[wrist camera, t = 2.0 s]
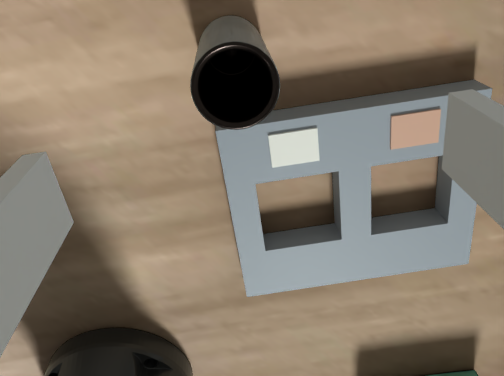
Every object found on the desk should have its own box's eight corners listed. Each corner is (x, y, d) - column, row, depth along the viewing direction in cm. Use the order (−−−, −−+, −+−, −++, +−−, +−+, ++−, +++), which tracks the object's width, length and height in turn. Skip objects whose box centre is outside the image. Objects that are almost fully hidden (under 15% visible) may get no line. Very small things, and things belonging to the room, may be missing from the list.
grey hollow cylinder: (269, 71, 32) (289, 118, 23) (209, 87, 32) (205, 140, 23) (253, 6, 29) (268, 29, 20) (190, 25, 30) (177, 55, 21)
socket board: (245, 278, 41) (247, 298, 38) (215, 119, 33) (215, 132, 31) (455, 246, 41) (469, 265, 38) (473, 79, 33) (493, 89, 30)
